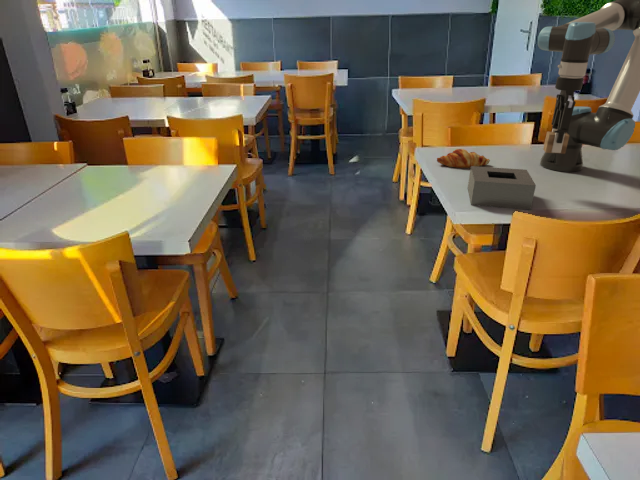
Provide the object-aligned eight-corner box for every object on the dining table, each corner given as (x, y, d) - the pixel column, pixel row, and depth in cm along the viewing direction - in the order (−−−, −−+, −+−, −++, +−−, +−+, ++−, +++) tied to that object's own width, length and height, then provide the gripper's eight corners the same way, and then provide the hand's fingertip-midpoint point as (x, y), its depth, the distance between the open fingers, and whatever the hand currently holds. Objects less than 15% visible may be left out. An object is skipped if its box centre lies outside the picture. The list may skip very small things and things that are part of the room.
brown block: (562, 150, 162) (566, 132, 159) (565, 153, 158) (569, 135, 156) (543, 149, 163) (547, 131, 160) (545, 152, 159) (549, 134, 157)
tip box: (522, 192, 165) (526, 169, 162) (530, 209, 151) (535, 185, 148) (467, 188, 168) (470, 166, 165) (470, 204, 154) (474, 180, 151)
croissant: (484, 171, 198) (484, 152, 198) (495, 166, 188) (494, 146, 188) (433, 170, 196) (433, 151, 197) (441, 166, 186) (441, 145, 187)
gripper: (551, 72, 158) (537, 143, 169) (564, 79, 143) (547, 156, 154) (576, 73, 157) (560, 144, 167) (591, 80, 142) (573, 158, 152)
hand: (554, 150), depth 160 cm, fingers closed on brown block, 4 cm apart
